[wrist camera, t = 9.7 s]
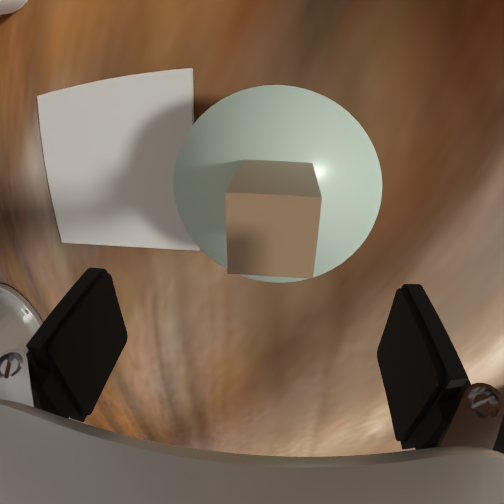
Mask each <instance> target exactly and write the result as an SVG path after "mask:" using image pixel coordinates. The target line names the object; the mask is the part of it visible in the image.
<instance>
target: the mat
mask: <svg viewBox="0 0 504 504" xmlns="http://www.w3.org/2000/svg"><path fill="white" fill-rule="evenodd" d="M37 100H38V112H39V122H40V131H41V139H42V146H43V153H44V160H45V166H46V172H47V178H48V183H49V188H50V193H51V198H52V203H53V207H54V212H55V216H56V220H57V225H58V229H59V233H60V236H61V240H62V243H78V244H95V245H112V246H129V247H146V248H163V249H180V250H197V251H200V248H199V247H198V246H197V244H196V243H195V242H194V241H193V239H192V238H191V237H190V235H189V234H188V232H187V230H186V228H185V227H184V225H183V223H182V220H181V218H180V216H179V213H178V210H177V206H176V203H175V197H174V190H173V175H174V167H175V162H176V158H177V154H178V151H179V149H180V146H181V144H182V142H183V139H184V138H185V136H186V134H187V133H188V131H189V130H190V128H191V127H192V125H193V124H194V99H193V68H188V69H176V70H167V71H158V72H150V73H142V74H136V75H129V76H123V77H117V78H111V79H106V80H101V81H96V82H91V83H87V84H82V85H78V86H73V87H69V88H65V89H61V90H57V91H54V92H50V93H46V94H43V95H39V96H37Z"/></svg>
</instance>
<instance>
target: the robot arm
mask: <svg viewBox="0 0 504 504" xmlns="http://www.w3.org/2000/svg"><path fill="white" fill-rule="evenodd" d="M126 342H127V331H126V327H125V324H124V321H123V317H122V314H121V310H120V307H119V303H118V300H117V296H116V292H115V288H114V284H113V281H112V277H111V275H110V274H109V273H107V271H106V270H105V269H101V268H89V269H87V270H86V272H85V273H84V274H83V275H82V276H81V277H80V278H79V280H78V281H77V282H76V283H75V284H74V285H73V287H72V288H71V289H70V290H69V291H68V293H67V294H66V295H65V296H64V297H63V299H62V300H61V301H60V302H59V303H58V305H57V306H56V307H55V308H54V310H53V311H52V312H51V313H50V315H49V316H48V317H47V318H46V320H45V321H44V322H43V323H42V321H41V319H40V317H39V315H38V314H37V312H36V311H35V310H34V308H33V307H32V306H31V305H30V303H29V302H28V301H27V300H26V299H25V298H24V297H23V296H22V295H21V294H20V293H18V292H17V291H16V290H14V289H13V288H11V287H9V286H7V285H5V284H1V283H0V504H504V400H503V398H502V396H501V394H500V393H499V392H498V391H497V390H496V389H495V388H494V387H492V386H491V385H488V384H485V383H475V384H472V385H471V384H470V381H469V379H468V376H467V374H466V372H465V370H464V367H463V365H462V363H461V361H460V359H459V357H458V354H457V352H456V350H455V348H454V346H453V344H452V342H451V340H450V338H449V336H448V334H447V332H446V330H445V328H444V326H443V324H442V322H441V320H440V318H439V316H438V315H437V313H436V311H435V309H434V307H433V305H432V303H431V302H430V300H429V298H428V296H427V294H426V293H425V291H424V289H423V287H422V286H421V285H419V284H404V285H403V286H402V288H401V289H400V288H399V289H397V291H396V294H395V297H394V301H393V304H392V307H391V310H390V314H389V317H388V320H387V323H386V326H385V329H384V332H383V335H382V338H381V341H380V344H379V347H378V350H377V359H378V363H379V367H380V371H381V375H382V379H383V383H384V387H385V391H386V396H387V400H388V405H389V409H390V414H391V418H392V423H393V428H394V433H395V437H396V440H397V441H401V445H402V449H410V448H415V449H416V450H410V451H402V452H393V453H383V454H370V455H355V456H336V457H281V456H261V455H246V454H235V453H225V452H216V451H208V450H201V449H194V448H188V447H181V446H176V445H170V444H165V443H159V442H154V441H150V440H145V439H140V438H136V437H131V436H127V435H123V434H119V433H115V432H111V431H108V430H104V429H101V428H97V427H94V426H90V425H87V424H84V423H80V422H77V421H74V420H71V419H68V418H69V416H70V418H72V419H75V420H78V421H81V422H84V421H85V418H86V416H87V415H90V414H91V413H92V411H93V409H94V407H95V405H96V403H97V401H98V398H99V396H100V394H101V392H102V390H103V388H104V386H105V384H106V382H107V380H108V378H109V376H110V374H111V372H112V370H113V368H114V366H115V364H116V362H117V360H118V358H119V356H120V354H121V352H122V350H123V348H124V346H125V344H126Z"/></svg>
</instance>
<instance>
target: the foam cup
mask: <svg viewBox="0 0 504 504" xmlns="http://www.w3.org/2000/svg"><path fill="white" fill-rule="evenodd" d="M27 1H28V0H0V15H2V14H9V13H14V12H15V11H17V10H19V9H20V8H22V7H23V5H24V4H25V3H26V2H27Z"/></svg>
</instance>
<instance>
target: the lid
mask: <svg viewBox="0 0 504 504" xmlns="http://www.w3.org/2000/svg"><path fill="white" fill-rule="evenodd" d="M173 190H174V197H175V203H176V206H177V210H178V213H179V216H180V218H181V220H182V223H183V225H184V227H185V228H186V230H187V232H188V234H189V235H190V237H191V238H192V239H193V241H194V242H195V243H196V244H197V246H198V247H199V248H200V249H201V250H202V251H203V252H204V253H205V254H206V255H207V256H209V257H210V258H211V259H212V260H214V261H215V262H216V263H218V264H219V265H221V266H223V267H224V268H226V269H227V270H228V274H238V275H241V276H244V277H247V278H250V279H255V280H259V281H266V282H294V281H300V280H305V279H313V277H315V276H318V275H321V274H323V273H325V272H327V271H329V270H332V269H333V268H335V267H336V266H338V265H340V264H341V263H343V262H344V261H345V260H346V259H348V258H349V257H350V256H351V255H352V254H353V253H354V252H355V251H356V250H357V249H358V248H359V247H360V246H361V244H362V243H363V242H364V240H365V239H366V238H367V236H368V234H369V233H370V231H371V229H372V227H373V225H374V223H375V220H376V217H377V215H378V212H379V207H380V203H381V196H382V174H381V169H380V164H379V160H378V157H377V154H376V151H375V148H374V146H373V144H372V143H371V141H370V139H369V137H368V135H367V134H366V132H365V131H364V129H363V128H362V127H361V125H360V124H359V123H358V122H357V121H356V120H355V119H354V117H353V116H352V115H351V114H350V113H349V112H347V111H346V110H345V109H343V108H342V107H341V106H340V105H338V104H337V103H335V102H334V101H332V100H330V99H328V98H327V97H325V96H323V95H320V94H318V93H315V92H313V91H310V90H307V89H303V88H299V87H294V86H285V85H265V86H259V87H253V88H248V89H245V90H242V91H239V92H236V93H234V94H232V95H230V96H228V97H226V98H224V99H222V100H220V101H219V102H217V103H216V104H214V105H213V106H211V107H210V108H209V109H208V110H207V111H205V112H204V113H203V114H202V115H201V116H200V117H199V118H198V119H197V121H196V122H195V123H194V124H193V125H192V127H191V128H190V130H189V131H188V133H187V134H186V136H185V138H184V139H183V142H182V144H181V146H180V149H179V151H178V154H177V158H176V162H175V167H174V175H173Z"/></svg>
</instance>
